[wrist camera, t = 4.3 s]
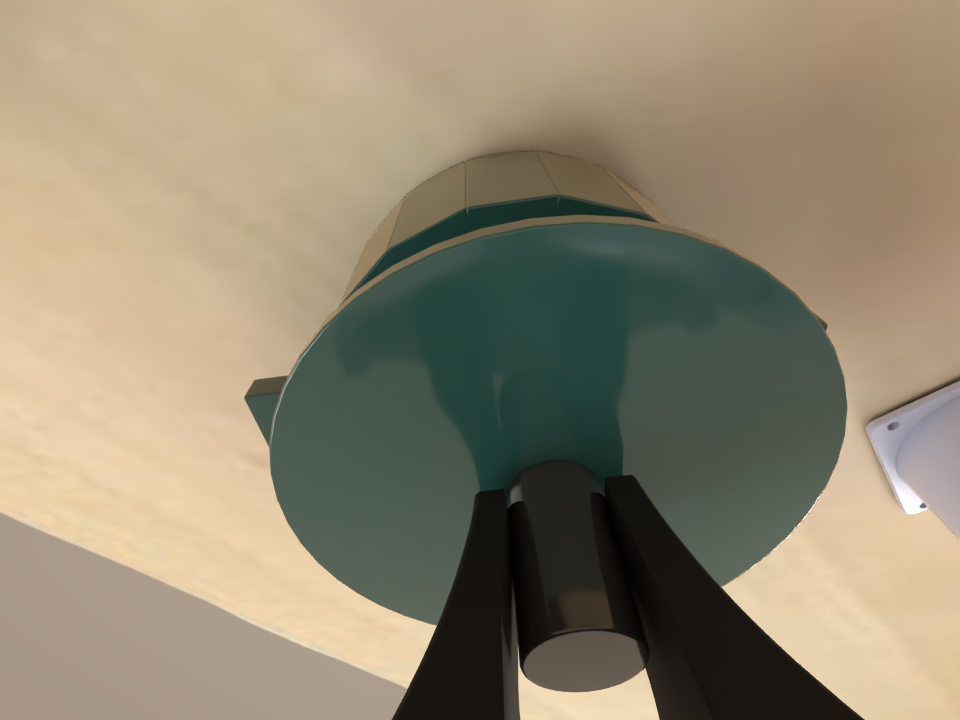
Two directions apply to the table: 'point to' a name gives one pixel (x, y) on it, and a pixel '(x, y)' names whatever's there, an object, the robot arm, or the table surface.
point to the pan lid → (557, 423)
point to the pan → (479, 219)
